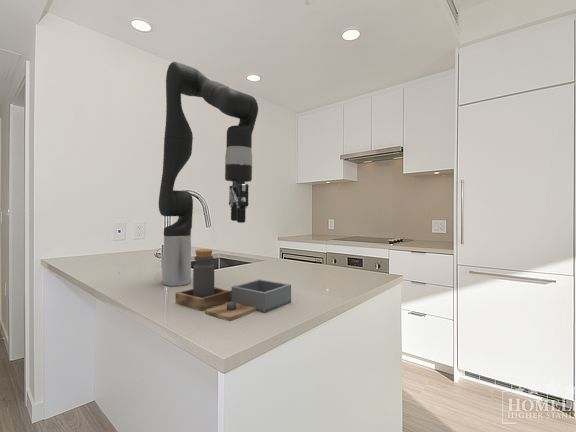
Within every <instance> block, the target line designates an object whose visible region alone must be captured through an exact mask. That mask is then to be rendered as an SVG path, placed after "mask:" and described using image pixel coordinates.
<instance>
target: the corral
mask: <svg viewBox="0 0 576 432" xmlns="http://www.w3.org/2000/svg"><path fill="white" fill-rule="evenodd" d="M174 297H175V298H174V299H175V304H176V305H179V306H183V307H186V308H190V309H193V310H196V311H201V312H202V311H205V310H208V309H211V308H214V307H217V306H220V305H223V304H226V303H230V302H231V290H229V289H224V288H218V287H215V286H214V295H211V296H207V297H204V298H200V297H196V296H193V288H191V289H187V290H186V289H185V290H182V291H178V292H175V296H174Z"/></svg>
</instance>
